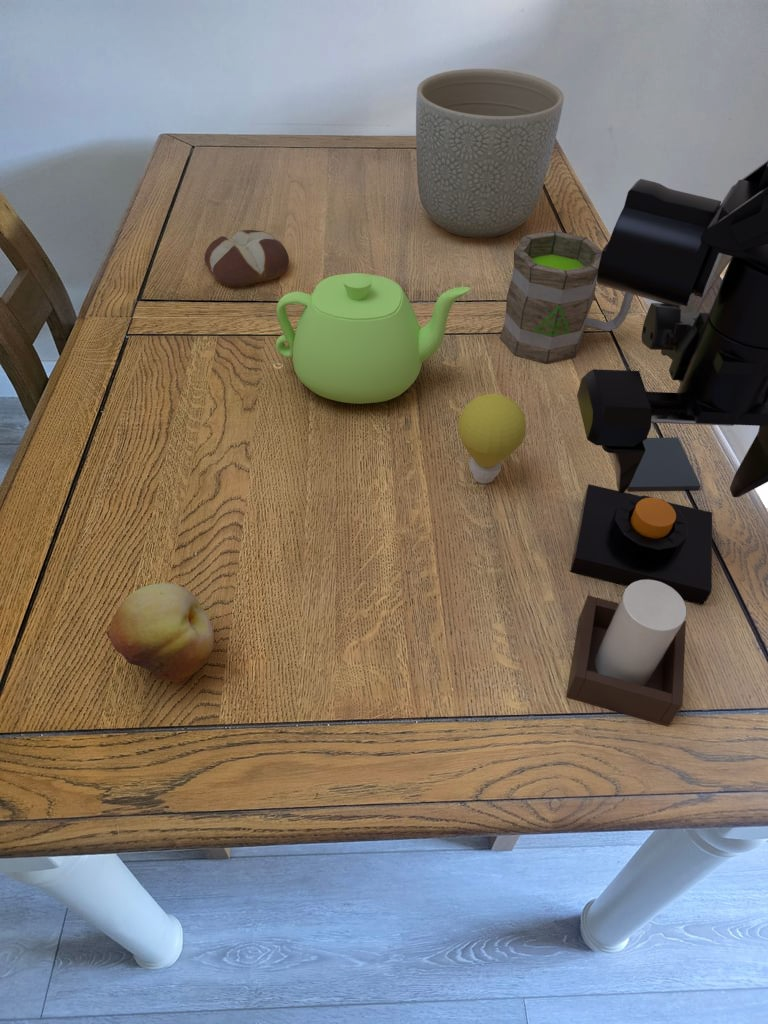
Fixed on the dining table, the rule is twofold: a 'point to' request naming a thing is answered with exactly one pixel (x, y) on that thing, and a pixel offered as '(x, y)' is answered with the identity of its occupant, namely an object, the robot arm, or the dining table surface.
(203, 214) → the dining table surface
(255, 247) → the bread
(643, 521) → the button
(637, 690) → the holder
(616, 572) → the base
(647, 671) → the canister
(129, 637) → the fruit
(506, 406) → the light bulb
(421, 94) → the planter
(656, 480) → the mat
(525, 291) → the mug
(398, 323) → the teapot
